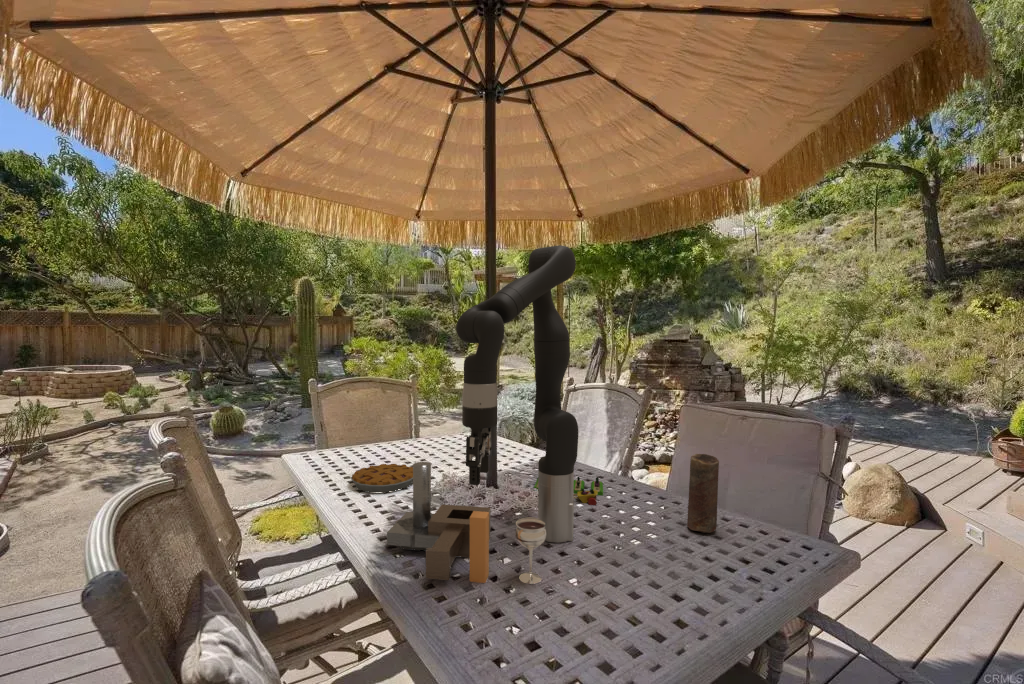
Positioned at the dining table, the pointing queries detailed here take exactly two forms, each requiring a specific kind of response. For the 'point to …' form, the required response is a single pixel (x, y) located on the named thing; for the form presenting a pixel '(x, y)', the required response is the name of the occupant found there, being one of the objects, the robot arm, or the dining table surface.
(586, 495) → the toy garden set
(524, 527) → the wineglass
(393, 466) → the pie
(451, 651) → the dining table surface
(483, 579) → the orange rectangular block
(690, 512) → the candle
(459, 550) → the bracket
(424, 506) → the metal peg stand
